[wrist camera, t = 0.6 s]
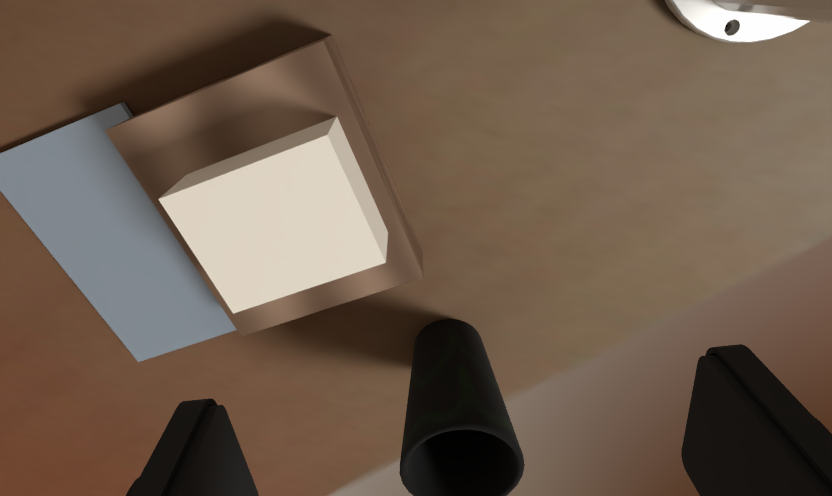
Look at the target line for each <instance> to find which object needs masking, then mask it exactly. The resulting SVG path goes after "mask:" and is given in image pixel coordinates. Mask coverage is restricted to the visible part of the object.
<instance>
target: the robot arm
mask: <svg viewBox="0 0 832 496" xmlns="http://www.w3.org/2000/svg"><path fill="white" fill-rule="evenodd" d="M665 2H666V4H667V6H668V8H669V9H670V10H671V11H672V13H673V14H674V15H675V16H676V17H677V18H678V19H679V21H680V22H681V23H683V24H684V25H685V26H687V27H688V28H690V29H691V30H693V31H694V32H695V33H697V34H700V35H703V36H705V37H708V38H711V39H713V40H718V41H723V42H729V43H754V42H760V41H766V40H771V39H774V38H777V37H779V36H782V35H785V34H788V33H790V32H793V31H794V30H796V29H798V28H800V27H802V26H804V25H805V24H807V23H809V22H811V21H814V22H825V23H832V0H665ZM726 24H727V28H726V29H725V26H726ZM724 29H725V30H724ZM682 461H683V465H684V468H685V470H686V472H687V474H688V476H689V477H690V479H691V481H692V482H693V484H694V486H695V487H696V489H697V491H698V493H699V495H700V496H832V434H831V433H830V432H829V431H828V430H827V429H826V428H825V426H823V424H822V423H821V422H820V421H818V420H817V419H816V418H815V417H814V416H812V415H811V414H810V413H809V412H808V410H807V409H806V408H805V407H804V406H803V405H802V404H801V403H800V402H799V401H798V400H797V399H796V398H795V397H794V396H793V395H792V394H791V393H790V391H789V390H788V389H787V388H786V387H785V386H784V385H783V384H782V383H781V382H780V381H779V380H778V379H777V378H776V377H775V376H774V375H773V373H772V372H770V370H769V369H768V368H767V367H766V366H765V365H764V364H763V363H762V362H761V361H760V360H759V359H758V358H757V357H756V356H755V354H754V353H752V351H751V350H750V349H749V348H747V347H746V346H744V345H741V344H740V345H730V346H721V347H712V348H709V349H708V350H707V353H706V355H705V356H701V357H700V358H699V360H698V364H697V370H696V376H695V381H694V386H693V392H692V397H691V403H690V408H689V413H688V419H687V424H686V430H685V435H684V441H683V447H682ZM126 496H258V491H257V489H256V486H255V484H254V481H253V478H252V476H251V473H250V471H249V468H248V466H247V463H246V460H245V458H244V455H243V453H242V450H241V448H240V445H239V442H238V440H237V437H236V435H235V432H234V430H233V427H232V424H231V422H230V419H229V417H228V414H227V411H226V409H225V407H224V406H223V405H217V404H216V402H215V401H214V400H213V399H202V400H192V401H183V402H181V403H180V404H179V405H178V407H177V408H176V410H175V412H174V414H173V416H172V418H171V420H170V421H169V423H168V425H167V427H166V429H165V431H164V433H163V435H162V436H161V438H160V440H159V442H158V444H157V446H156V448H155V449H154V451H153V453H152V455H151V457H150V459H149V461H148V463H147V464H146V466H145V468H144V470H143V472H142V474H141V476H140V477H139V478H138V479H136V480H135V482H134V483H133V484H132V486H131V487H130V489H129V491H128V492H127V494H126Z"/></svg>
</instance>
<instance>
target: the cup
mask: <svg viewBox="0 0 832 496" xmlns="http://www.w3.org/2000/svg"><path fill="white" fill-rule="evenodd" d="M523 470H524V459H523V454H522V451H521V448H520V446H519V443H518V440H517V438H516V434H515V432H514V429H513V426H512V423H511V421H510V418H509V415H508V412H507V409H506V407H505V404H504V401H503V398H502V395H501V393H500V390H499V387H498V384H497V382H496V379H495V376H494V373H493V370H492V368H491V365H490V362H489V359H488V357H487V354H486V351H485V348H484V345H483V343H482V340H481V337H480V335H479V333H478V332H477V331H476V330H475V329H474V328H473V327H472V326H471V325H469V324H468V323H465V322H463V321H460V320H453V319H446V320H440V321H436V322H433V323H432V324H430V325H428V326H426V327H425V328H424V329H423V330H422V331H421V332H420V333H419V335H418V336H417V339H416V341H415V346H414V355H413V363H412V371H411V379H410V387H409V395H408V403H407V411H406V420H405V428H404V436H403V444H402V452H401V460H400V476H401V479H402V482H403V484H404V486H405V487H406V488H407V490H408V491H409V492H410V493H411V494H412V495H413V496H506V495H508V494H509V493H510V492H511V491H512V490H513V489H514V488H515V487H516V486H517V484H518V482H519V481H520V479H521V477H522V474H523Z"/></svg>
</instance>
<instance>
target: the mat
mask: <svg viewBox="0 0 832 496" xmlns="http://www.w3.org/2000/svg"><path fill="white" fill-rule="evenodd" d="M131 117H133V115H132V114H131V112H130V110H129V109H128V107H127V106H126V104H125V102H122V103H119V104H117V105H115V106H112V107H110V108H107V109H105V110H103V111H100V112H98V113H95V114H93V115H91V116H88V117H86V118H84V119H81V120H79V121H76V122H74V123H72V124H69V125H67V126H64V127H62V128H60V129H57V130H55V131H53V132H50V133H48V134H45V135H43V136H41V137H38V138H36V139H33V140H31V141H29V142H26V143H24V144H21V145H19V146H17V147H14V148H12V149H10V150H7V151H5V152H2V153H0V191H1V192H2V193H3V195H4V196H5V197H6V198H7V199H8V201H9V202H10V203H11V204H12V206H13V207H14V208H15V209H16V211H17V212H18V213H19V214H20V216H21V217H22V218H23V219H24V221H25V222H26V223H27V224H28V226H29V227H30V228H31V229H32V231H33V232H34V233H35V234H36V236H37V237H38V238H39V239H40V240H41V242H42V243H43V244H44V245H45V247H46V248H47V249H48V250H49V252H50V253H51V254H52V255H53V257H54V258H55V259H56V260H57V262H58V263H59V264H60V265H61V267H62V268H63V269H64V270H65V272H66V273H67V274H68V275H69V277H70V278H71V279H72V280H73V281H74V283H75V284H76V285H77V286H78V288H79V289H80V290H81V291H82V293H83V294H84V295H85V296H86V298H87V299H88V300H89V301H90V303H91V304H92V305H93V306H94V308H95V309H96V310H97V311H98V313H99V314H100V315H101V316H102V318H103V319H104V320H105V321H106V323H107V324H108V325H109V326H110V327H111V329H112V330H113V331H114V332H115V334H116V335H117V336H118V337H119V339H120V340H121V341H122V342H123V344H124V345H125V346H126V347H127V349H128V350H129V351H130V352H131V354H132V355H133V356H134V357H135V359H136V360H137V361H138V362H140V361H143V360H146V359H149V358H152V357H155V356H158V355H161V354H164V353H167V352H171V351H174V350H177V349H180V348H183V347H186V346H189V345H192V344H195V343H198V342H201V341H204V340H207V339H210V338H213V337H216V336H219V335H222V334H225V333H228V332H231V331H235V330H237V329H236V328H235V326H234V325H233V323H232V322H231V320H230V319H229V317H228V316H227V314H226V313H225V311H224V310H223V308H222V307H221V305H220V304H219V302H218V301H217V299H216V298H215V296H214V295H213V293H212V292H211V290H210V289H209V287H208V286H207V284H206V283H205V281H204V280H203V278H202V277H201V275H200V274H199V272H198V271H197V269H196V268H195V266H194V265H193V263H192V262H191V260H190V259H189V257H188V256H187V254H186V253H185V251H184V250H183V248H182V246H181V245H180V243H179V242H178V240H177V239H176V237H175V236H174V234H173V233H172V231H171V230H170V228H169V227H168V225H167V224H166V222H165V221H164V219H163V218H162V216H161V215H160V213H159V212H158V210H157V209H156V207H155V206H154V204H153V203H152V201H151V200H150V198H149V197H148V195H147V194H146V192H145V191H144V189H143V188H142V186H141V185H140V183H139V182H138V180H137V179H136V177H135V176H134V174H133V173H132V171H131V170H130V168H129V167H128V165H127V164H126V162H125V160H124V159H123V157H122V156H121V154H120V153H119V151H118V150H117V148H116V147H115V145H114V144H113V142H112V141H111V139H110V138H109V136H108V135H107V133H106V132H105V130H107V129H109V128H111V127H113V126H115V125H117V124H119V123H121V122H123V121H125V120H127V119H129V118H131Z"/></svg>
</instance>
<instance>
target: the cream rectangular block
mask: <svg viewBox="0 0 832 496" xmlns="http://www.w3.org/2000/svg"><path fill="white" fill-rule="evenodd" d="M158 200H159V201H160V203H161V204H162V206H163V207H164V209H165V210H166V212H167V213H168V215H169V216H170V218H171V219H172V221H173V222H174V224H175V226H176V227H177V229H178V230H179V232H180V233H181V235H182V236H183V238H184V239H185V241H186V242H187V244H188V245H189V247H190V248H191V250H192V251H193V253H194V255H195V256H196V258H197V259H198V261H199V262H200V264H201V265H202V267H203V268H204V270H205V271H206V273H207V274H208V276H209V277H210V279H211V281H212V282H213V284H214V285H215V287H216V288H217V290H218V291H219V293H220V294H221V296H222V297H223V299H224V300H225V302H226V303H227V305H228V306H229V308H230V310H231V311H232V313H233V314H234V313H237V312H240V311H243V310H246V309H249V308H252V307H255V306H258V305H261V304H264V303H267V302H270V301H273V300H276V299H279V298H282V297H285V296H288V295H291V294H294V293H297V292H300V291H303V290H306V289H309V288H312V287H315V286H318V285H321V284H324V283H327V282H330V281H333V280H336V279H339V278H342V277H345V276H348V275H351V274H354V273H357V272H360V271H363V270H366V269H369V268H372V267H375V266H378V265H381V264H384V263H386V254H387V241H388V231H387V229H386V227H385V224H384V222H383V220H382V218H381V215H380V213H379V211H378V208H377V206H376V204H375V202H374V199H373V197H372V195H371V193H370V190H369V188H368V186H367V184H366V181H365V179H364V177H363V174H362V172H361V170H360V168H359V165H358V163H357V161H356V159H355V156H354V154H353V152H352V150H351V147H350V145H349V143H348V140H347V138H346V136H345V134H344V131H343V129H342V127H341V125H340V122H339V120H338V118H337V117H334V118H332V119H329V120H326V121H324V122H321V123H319V124H316V125H314V126H311V127H308V128H306V129H303V130H301V131H298V132H295V133H293V134H290V135H288V136H285V137H282V138H280V139H277V140H275V141H272V142H269V143H267V144H264V145H262V146H259V147H256V148H254V149H251V150H249V151H246V152H243V153H241V154H238V155H236V156H233V157H231V158H228V159H225V160H223V161H220V162H218V163H215V164H212V165H210V166H207V167H205V168H202V169H199V170H197V171H194V172H192V173H189V174H187V175H185V176H184V177H183V178H182V179H181V180H180V181H179V182H177V183H176V184H175V185H174V186H173V187H172V188H171V189H169V190H168V191H167V192H166V193H165V194H164V195H163V196H161V197H160V198H159V199H158Z"/></svg>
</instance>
